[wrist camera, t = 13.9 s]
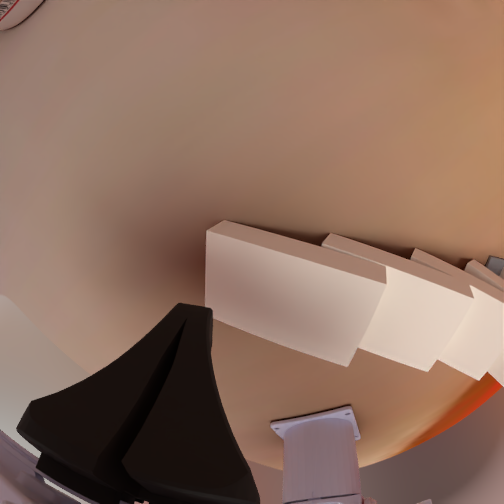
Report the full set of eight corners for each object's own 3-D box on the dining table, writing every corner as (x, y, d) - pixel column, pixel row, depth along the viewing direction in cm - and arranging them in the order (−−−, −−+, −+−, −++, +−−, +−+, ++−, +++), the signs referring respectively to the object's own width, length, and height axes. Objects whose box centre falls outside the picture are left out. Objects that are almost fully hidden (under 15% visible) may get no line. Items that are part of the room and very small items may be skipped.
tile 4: (436, 325, 15) (508, 392, 9) (467, 262, 12) (554, 331, 6) (444, 318, 15) (513, 380, 9) (473, 259, 13) (554, 322, 7)
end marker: (455, 323, 16) (456, 325, 16) (489, 255, 13) (491, 256, 13) (494, 322, 16) (495, 324, 15) (524, 264, 13) (526, 265, 13)
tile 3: (379, 329, 14) (478, 380, 10) (411, 256, 12) (525, 315, 8) (386, 316, 16) (479, 364, 11) (415, 247, 13) (520, 302, 9)
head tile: (205, 314, 14) (347, 367, 12) (206, 230, 12) (386, 284, 10) (219, 299, 16) (352, 345, 13) (224, 219, 13) (386, 266, 11)
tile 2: (300, 324, 14) (427, 371, 11) (322, 243, 12) (474, 299, 9) (309, 309, 16) (428, 353, 12) (330, 232, 13) (468, 282, 10)
